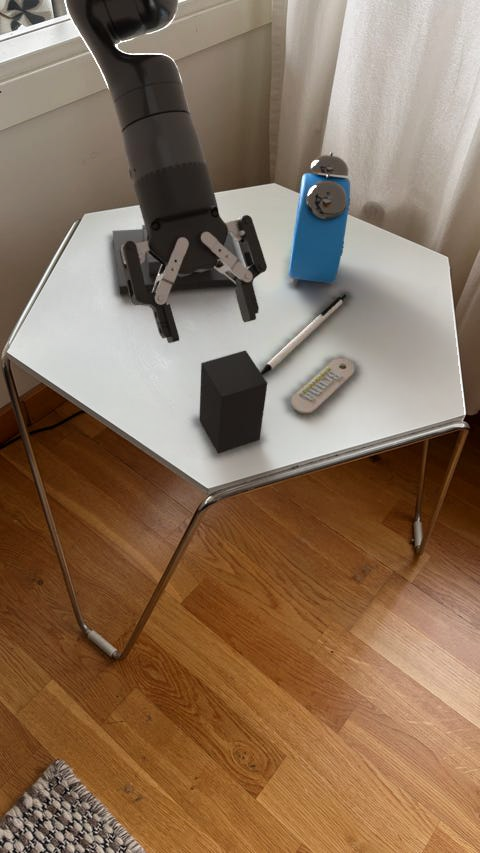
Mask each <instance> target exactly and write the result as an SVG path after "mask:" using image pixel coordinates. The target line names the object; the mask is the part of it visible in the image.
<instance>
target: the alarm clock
mask: <svg viewBox="0 0 480 853" xmlns="http://www.w3.org/2000/svg"><path fill="white" fill-rule="evenodd" d="M308 171H309V172H310V173H309V172H307V173H304V174H303V175H302V177H301V181H300V189H299V194H298V195H299V196H298V201H297V202H298V203H297V208H296V216H295V224H294V232H293V237H292V238H293V239H292V245H291V252H290V253H291V254H290V260H289V261H290V262H289V268H288V269H289V270H288V275H289V278H291V279H293V286H296V285H297V281H298V280H302V281H309V282H310V281H311V282H316V283H317V282H319V283H325V284H333V283H334V282H335V280H336V278H337V275H338V271H339V267H340V263H341V259H342V256H343V252H344V247H345V246H344V245H345V236H346V230H347V229H346V228H347V223H348V222H347V221H348V215H349V211H350V205H351V204H350V202H351V180H350V179H349V178H347V177H348V176H349V167H348V165H347V163H346V161H345V160H344V159H342V158H341V157H339V156H337V155H334V153H333V152H329V154H322V155H319V156H317V157H315V158H314V159H313V160H312V161H311V163H310V164H309V167H308ZM311 172H313V173H311ZM316 173H317V174H316ZM344 176H345V177H344Z"/></svg>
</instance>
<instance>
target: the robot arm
mask: <svg viewBox="0 0 480 853" xmlns="http://www.w3.org/2000/svg"><path fill="white" fill-rule="evenodd" d="M64 4H65V7H66V11H67V13H68V16H69V18H70V19H71V22H72V23H73V25H74V27H75V29H76V31H78V34H79V35H80V37H81V39H82V40H83V42H84V43H85V45H86V47H87V49H88V50H89V52H90V53H91V55H92V57H93V58H94V60H95V62H96V64H97V66H98V68H99V70H100V73H101V74H102V78H103V79H104V81H105V84H106V86H107V89H108V92H109V95H110V97H111V100H112V104H113V106H114V112H115V115H116V119H117V122H118V124H119V129H120V132H121V137H122V140H123V147H124V154H125V159H126V163H127V167H128V174H129V177H130V178H129V179H130V180H131V181H132V184H133V188H134V192H135V194H136V199H137V202H138V206H139V208H140V209H139V210H140V212H141V216H142V220H143V225H145V227H146V230H147V241H143V242H137V243H134V242H133V241H127V242H126V243H125V244H124V245H123V246H122V247H121V248H120V250H119V252H120V257H121V261H122V266H123V270H124V274H125V279H126V283H127V288H128V292H129V293H128V296H129V300H130V303H131V304H132V305H133V306H146V307H148V308H150V309H151V310H152V314H153V317H154V320H155V323H156V326H157V329H158V334H159V336H160V338H162V339H163V340H164V339H166V341H167V343H168V344H173V343H175V342H179V341H180V335H179V331H178V328H177V324H176V320H175V316H174V314H173V310H172V306H171V303H168V302H167V300H168V298H169V295H170V292H171V291H172V290H171V287H172V285H173V283H174V282H175V279H176V276H180V277H183V276H187V275H189V274H191V273H193V272H204V271H208V270H210V269H212V268H215V269H216V270H217V271H219V272H220V273H222V274H224V275H226V276H227V277H228V278H229V279H230V280H232V281H233V282H234V283H235V284H236V285H237V286H236V287H234V288H233V289H234V294H235V297H236V302H237V304H238V307H239V311H240V315H241V319H242V322H243V323H249V322H252V321H255V320H256V319H257V315H256V314H259V309H260V308H259V303H258V300H257V296H256V292H255V288H254V280H255V279H256V278H257V277H259V275H261V274H263V273H264V272H266V271H267V269H268V268H267V267H268V264H267V262H266V259H265V255H264V253H263V250H262V247H261V243H260V240H259V237H258V233H257V231H256V228H255V224H254V221H253V218H252V217H251V216H250V215H248V214H244V215H243V216H241V217H239V218H237V219H235V220H232V221H229V222H225V221H224V220H223V218H222V217H221V216H220V212H219V207H218V202H217V198H216V195H215V191H214V187H213V183H212V180H211V179H212V178H211V176H210V172H209V168H208V164H207V161H206V157H205V154H204V150H203V146H202V142H201V139H200V136H199V133H198V131H197V128H196V126H195V123H194V121H193V118H192V115H191V110H190V107H189V106H190V105H189V103H188V99H187V96H186V92H185V88H184V84H183V80H182V77H181V74H180V71H179V68H178V65H177V63H176V62H175V60H174V59H173V58H172V57H170V56H169V55H168V54H167V55H166V54H164V53H151V52H149V53H127V52H124V51H123V50H121V49H119V47H118V45H119V44H121V43H125V42H127V41H132V40H134V39H137V38H140V37H143V36H146V35H150V34H153V33H156V32H159V31H161V30H164V29H166V28H167V27H168V26H169V25H170V24H171V23H172V22H173V20H174V19H175V17H176V14H177V12H178V9H179V0H64ZM228 234H230V236H231V239H232V241H234V242H237V243H238V245H239V246H238V247H239V249H240V252H241V255H242V258H243V261H244V264H245V265H243V264H242V262H240V261H239V259H238V256H237V255H236V256H237V257H236V256H234V255H233V254H232V253H231V252H230V251H229V250H227V249H226V248H225V247H224V244H225V241H226V238H227V235H228ZM146 252H148V253H149V254H150V255H151V256H152V257H154V258H155V259H156V260H157V261H158V262H159V263H161V267H160V269H159V272H158V275H157V277H156V280H155V285H154V288H153V291H152V292H147V291H146V287H145V282H144V278H143V273H142V269H141V264H142V263H143V262H144V261H145V253H146Z"/></svg>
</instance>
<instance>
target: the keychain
mask: <svg viewBox="0 0 480 853" xmlns="http://www.w3.org/2000/svg"><path fill="white" fill-rule="evenodd" d="M341 367H344V369H343V368H341ZM354 373H355V365H354V364H353V362H352V361H350V360H349V359H346V358H343V357H342V358H341V357H340V358H339V357H338V358H334V359H333V360H331V361H330V362H329V363H328V364H327V365H325V367H323V368H322V369H321V370H320V371H319V372H318V373H317V374H316V375H314V376H313V377H312V378H311V379H310V380H309V381H308V382H307V383H305V384H304V385H303V386H302V387H301V388H300V389H299V390H298V391H297V392H296V393H295V394H293V395H292V397H291V401H290V403H291V406H292V409H293V410H295V411H296V412H298V413H301V414H311V413H314V412H315V411H316V410H317V409H318V408H319V407H320V406H321V405H323V403H324V402H326V401H327V400H328V399H329V398H330V397H331V396H332V395H333V394H334V393H335V392H336V391H337V390H338V389H339V388H340V387H342V385H343V384H345V383H346V382H347V381H348V380H349V379H350V378H351V377H352V376H353V374H354Z"/></svg>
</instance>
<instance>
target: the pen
mask: <svg viewBox="0 0 480 853" xmlns="http://www.w3.org/2000/svg"><path fill="white" fill-rule="evenodd" d="M347 296H348V295H347V294H343V295H342V296H338V297H337V298H336V299H334V300H333V301H332V303H330V304H329V305H327V307H326V308H325V309H324V310H323V311H322V312H321V313H320V314H319V315H318V316H317V317H315V319H313V320H312V321H311V322H310V323H309V324H308V325H307V326H306V327H305V328H304V329H302V330H301V331H300V333H298V334H297V335H296V336H295V337H294V338H293V339H292V340H290V341H289V343H287V344H286V346H284V347H283V348H282V349H281V350H279V352H278V353H277V354H276V355H275V356H274V357H273V358H271V359H270V360H269V361H268V362H267V363H266V364H265V366H264V367H263V369H262V370H261V371H260V373H261V374H262V376H264V375H265V374H268V372H270V371H272V370H273V369H274V368H275V367H276V366H278V364H280V363H281V362H282V361H283V360H284V359H285V358H286V357H287V356H288V355H289V354H290V353H291V352H293V351H294V350H295V349H296V348H297V346H298V345H299V344H301V343H302V342H303V341H304V340H305V339H306V338H307V337H308V336H309V335H310V334H312V332H314V331H315V330H316V329H317V327H319V326H320V325H321V324H322V323H323V322H324V321H325V320H326V319H328V318H329V316H331V314H333V313H334V312H335V311H336V310H337V309H338V308H339V307H340V306H341V305H342V304H343V303H344V300H345V299H346V298H347Z"/></svg>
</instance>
